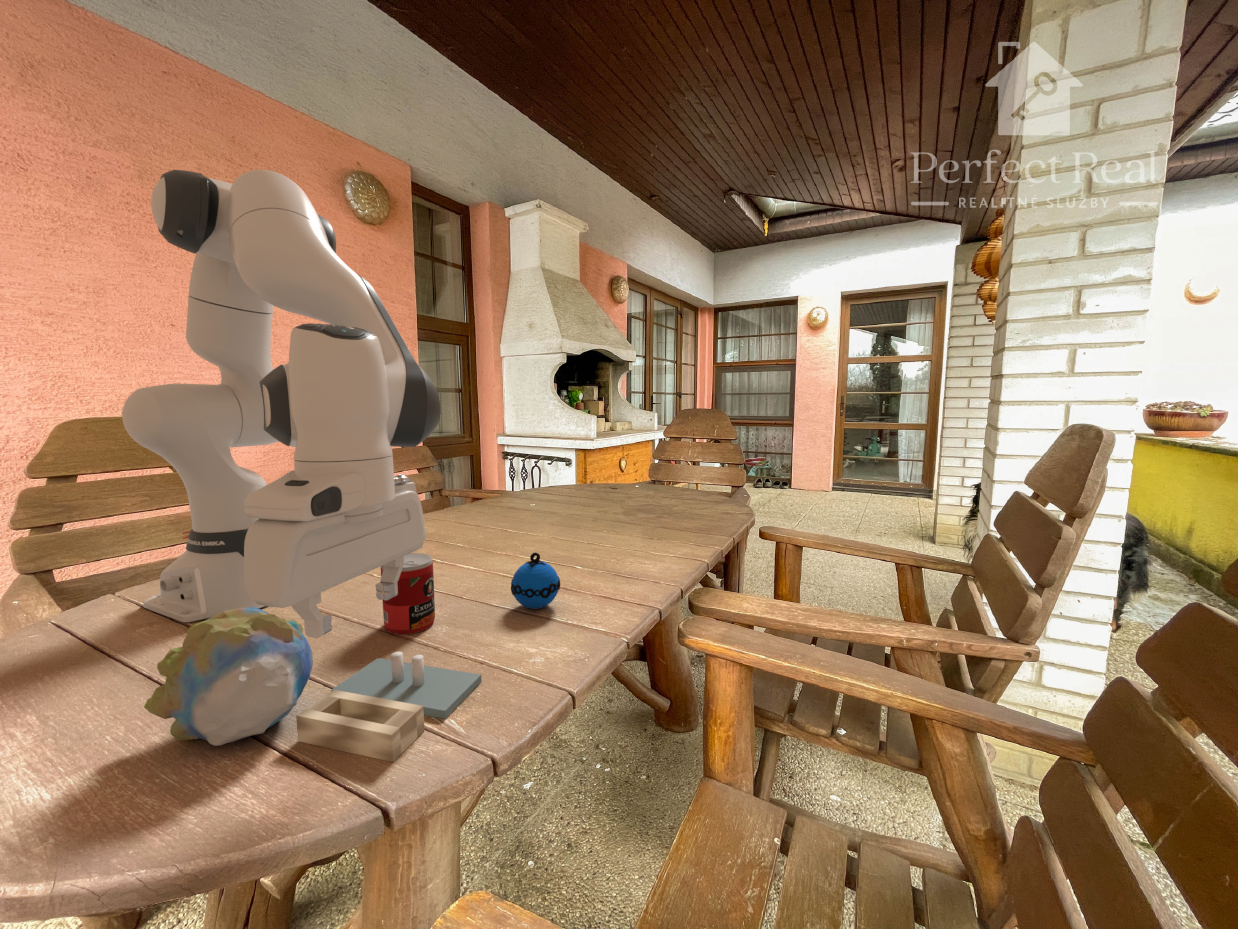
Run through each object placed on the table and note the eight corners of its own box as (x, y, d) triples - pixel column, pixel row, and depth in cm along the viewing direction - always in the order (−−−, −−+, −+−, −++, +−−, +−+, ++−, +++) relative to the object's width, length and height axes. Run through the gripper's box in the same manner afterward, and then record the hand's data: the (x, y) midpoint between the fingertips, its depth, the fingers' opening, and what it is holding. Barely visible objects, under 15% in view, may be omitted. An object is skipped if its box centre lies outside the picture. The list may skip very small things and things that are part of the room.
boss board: (331, 697, 62) (329, 663, 61) (378, 664, 69) (376, 634, 69) (445, 718, 58) (444, 682, 57) (481, 681, 65) (480, 649, 65)
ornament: (522, 621, 83) (521, 563, 82) (504, 604, 90) (503, 550, 89) (568, 610, 88) (568, 555, 87) (548, 594, 95) (547, 543, 94)
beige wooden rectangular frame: (298, 741, 54) (296, 715, 53) (335, 713, 58) (333, 689, 58) (393, 762, 51) (391, 734, 50) (424, 731, 55) (423, 706, 55)
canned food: (418, 637, 77) (414, 569, 76) (372, 632, 79) (368, 565, 78) (444, 617, 85) (442, 554, 83) (402, 613, 86) (399, 551, 85)
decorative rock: (247, 615, 49) (309, 570, 64) (67, 678, 46) (175, 616, 61) (302, 737, 51) (350, 666, 66) (133, 804, 48) (222, 715, 63)
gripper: (391, 471, 62) (397, 578, 64) (224, 502, 42) (239, 657, 44) (435, 472, 60) (440, 583, 62) (283, 506, 41) (297, 666, 42)
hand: (356, 614), depth 53 cm, fingers open, 8 cm apart
